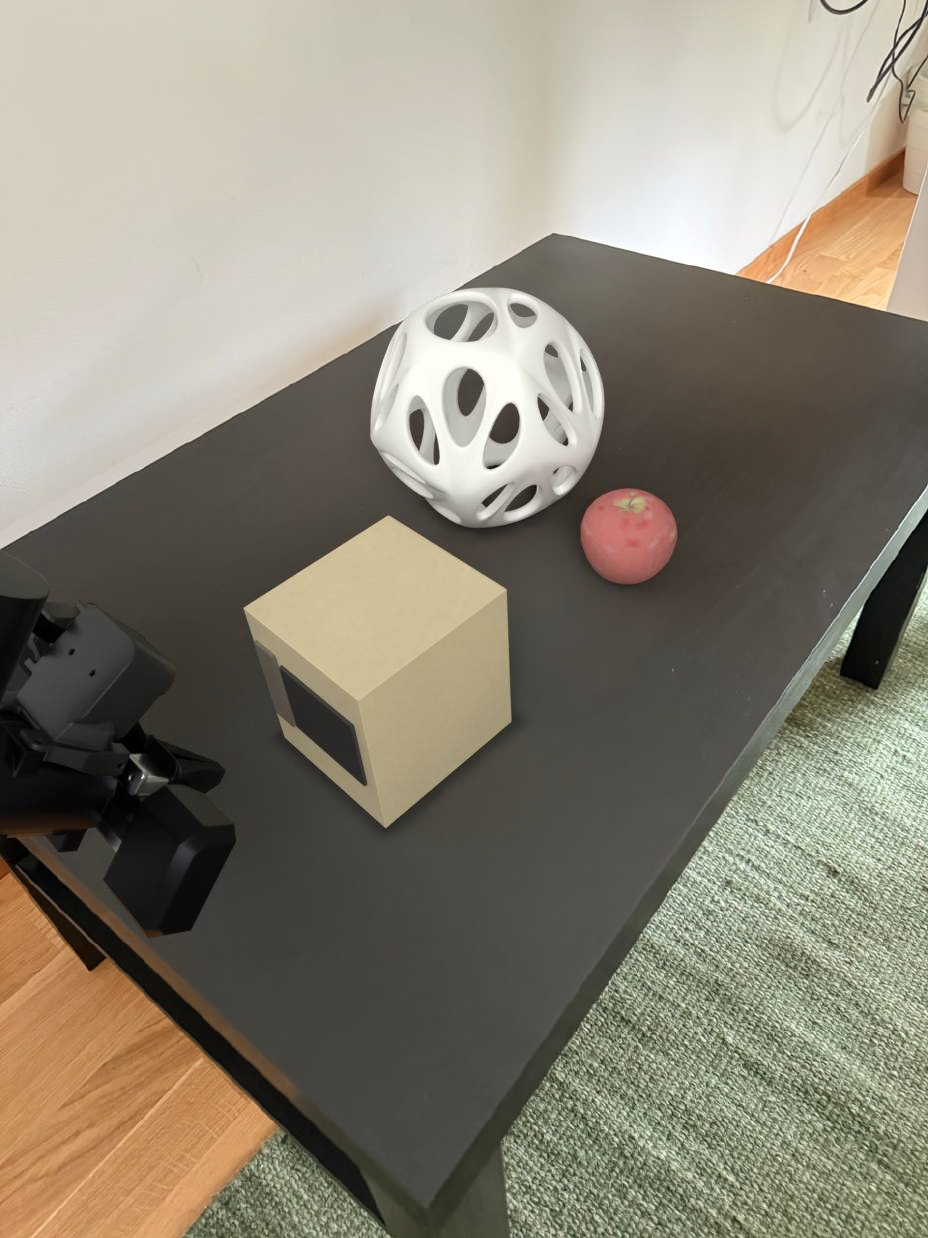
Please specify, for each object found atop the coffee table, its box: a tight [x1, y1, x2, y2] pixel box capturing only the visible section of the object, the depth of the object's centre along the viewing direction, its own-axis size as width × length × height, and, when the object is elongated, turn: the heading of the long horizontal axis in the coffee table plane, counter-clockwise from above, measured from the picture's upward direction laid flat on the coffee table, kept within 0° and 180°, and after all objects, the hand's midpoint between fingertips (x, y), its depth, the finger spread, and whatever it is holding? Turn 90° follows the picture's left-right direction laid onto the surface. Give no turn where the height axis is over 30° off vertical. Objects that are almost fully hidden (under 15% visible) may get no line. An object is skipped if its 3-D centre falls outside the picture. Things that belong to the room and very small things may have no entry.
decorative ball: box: [369, 287, 606, 529], centre depth 79 cm, size 20×20×17 cm
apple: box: [580, 488, 678, 585], centre depth 73 cm, size 7×7×8 cm
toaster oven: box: [243, 515, 512, 829], centre depth 61 cm, size 12×11×13 cm
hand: (219, 773), depth 54 cm, fingers closed
